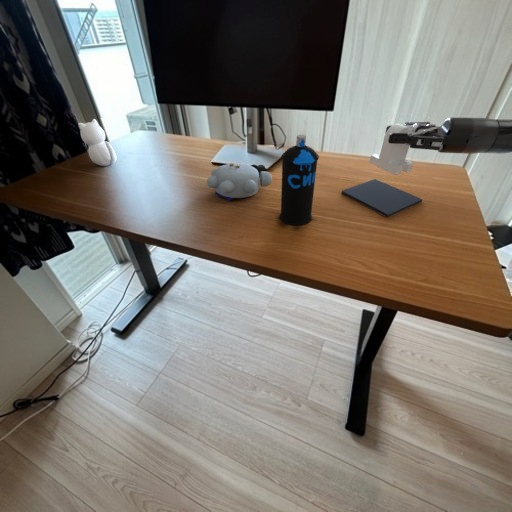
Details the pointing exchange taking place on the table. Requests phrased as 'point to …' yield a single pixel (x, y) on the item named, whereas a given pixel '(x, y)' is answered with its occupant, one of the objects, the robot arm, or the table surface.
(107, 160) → the cat figurine
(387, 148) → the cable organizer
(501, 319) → the table surface
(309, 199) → the aerosol can
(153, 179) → the table surface
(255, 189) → the figurine
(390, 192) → the felt mat
